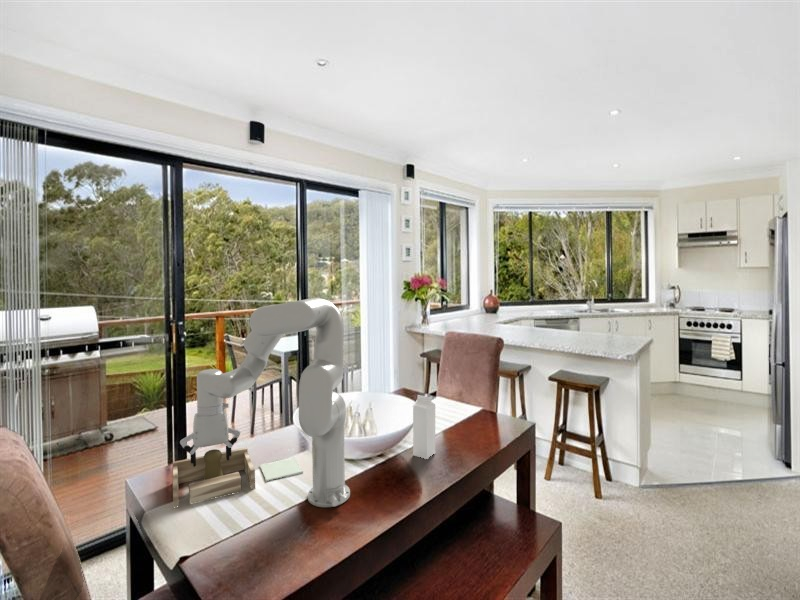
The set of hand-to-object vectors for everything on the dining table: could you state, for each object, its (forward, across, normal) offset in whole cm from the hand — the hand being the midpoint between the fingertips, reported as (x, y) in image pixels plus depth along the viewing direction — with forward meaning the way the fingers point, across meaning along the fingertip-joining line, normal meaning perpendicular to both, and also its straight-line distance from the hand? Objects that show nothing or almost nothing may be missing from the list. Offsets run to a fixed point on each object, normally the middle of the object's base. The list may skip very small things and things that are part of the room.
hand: (211, 461), depth 130 cm
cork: (+8, -1, 0) cm, 8 cm away
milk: (+6, -71, +15) cm, 72 cm away
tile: (+7, -22, +1) cm, 23 cm away
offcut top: (+5, -1, +7) cm, 9 cm away
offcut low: (+8, -1, +7) cm, 11 cm away
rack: (+7, -1, +2) cm, 8 cm away
